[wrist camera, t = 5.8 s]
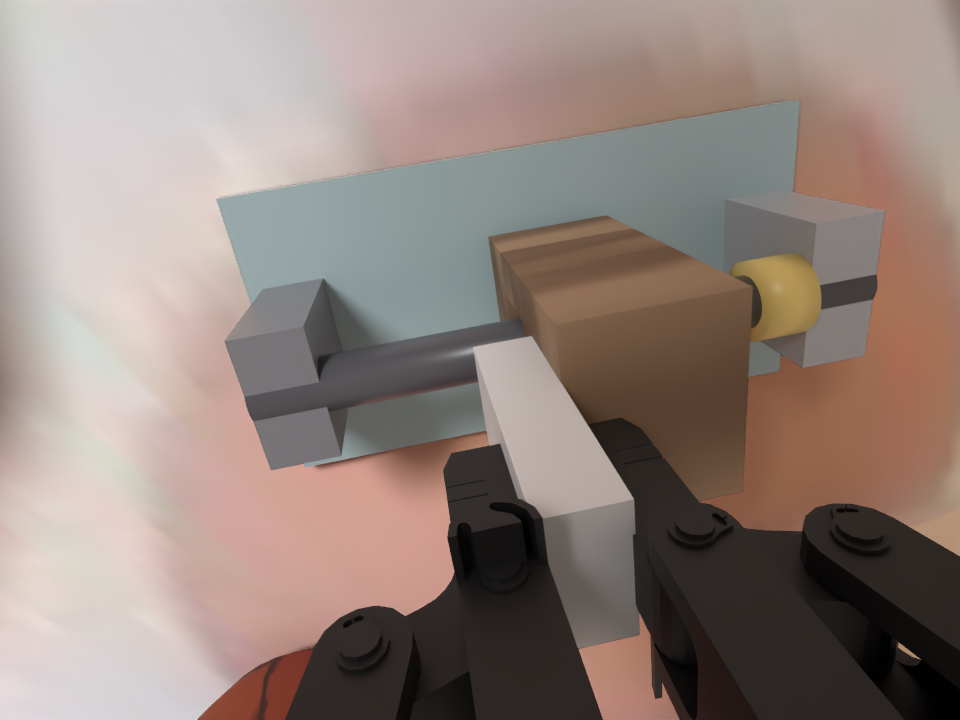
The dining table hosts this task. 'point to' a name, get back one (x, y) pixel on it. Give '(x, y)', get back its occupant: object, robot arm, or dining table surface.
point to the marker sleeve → (637, 338)
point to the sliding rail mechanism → (470, 280)
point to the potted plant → (262, 691)
